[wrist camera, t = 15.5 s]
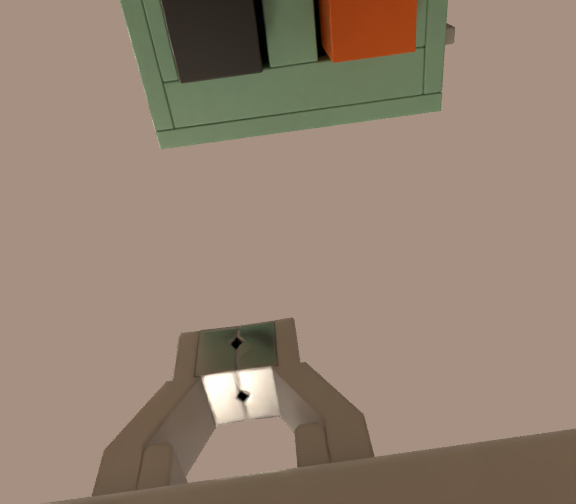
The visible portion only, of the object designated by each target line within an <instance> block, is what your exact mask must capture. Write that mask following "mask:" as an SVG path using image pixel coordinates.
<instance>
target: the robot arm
mask: <svg viewBox="0 0 576 504" xmlns="http://www.w3.org/2000/svg"><path fill="white" fill-rule="evenodd" d="M280 416H281V418H282V419H283V420H284V422H285V423H286V424H287V425H288V427H289V428H290V429H291V430H292V432H293V433H294V434H295V443H296V455H297V467H298V468H292V469H285V470H278V471H270V472H263V473H256V474H249V475H242V476H235V477H228V478H221V479H214V480H206V481H199V482H192V483H188V482H187V479H186V476H187V474H188V472H189V471H190V469H191V467H192V466H193V464H194V462H195V461H196V459H197V458H198V456H199V454H200V452H201V451H202V449H203V448H204V446H205V444H206V443H207V441H208V440H209V438H210V436H211V435H212V433H213V431H214V430H215V428H216V425H221V424H228V423H233V422H239V421H245V420H253V419H261V418H270V417H280ZM42 504H576V429H570V430H563V431H556V432H549V433H542V434H535V435H527V436H520V437H514V438H506V439H499V440H492V441H485V442H478V443H470V444H463V445H456V446H449V447H442V448H435V449H428V450H420V451H413V452H407V453H399V454H392V455H385V456H378V457H374V453H373V449H372V445H371V441H370V437H369V433H368V429H367V425H366V421H365V417H364V414H363V413H362V412H360V411H359V410H358V409H357V408H356V407H355V406H354V405H353V404H352V403H350V402H349V401H348V400H347V399H346V398H345V397H344V396H342V394H340V393H339V392H338V391H337V390H336V389H335V388H334V387H333V386H332V385H330V384H329V383H328V382H327V381H326V380H325V379H324V378H323V377H322V376H321V375H319V374H318V373H317V372H316V371H315V370H314V369H313V368H312V367H311V366H309V365H308V364H307V363H306V362H302V363H300V357H299V350H298V343H297V335H296V328H295V321H294V318H286V319H280V320H275V321H269V322H262V323H255V324H249V325H242V326H234V327H226V328H217V329H208V330H201V331H195V332H186V333H181V334H180V336H179V338H178V345H177V351H176V358H175V365H174V371H173V377H172V381H167V382H165V384H164V385H163V386H162V387H161V388H160V389H159V390H158V391H157V392H156V394H155V395H154V396H153V397H152V398H151V399H150V400H149V401H148V402H147V403H146V405H145V406H144V407H143V408H142V409H141V410H140V411H139V412H138V413H137V415H136V416H135V417H134V418H133V419H132V420H131V421H130V422H129V423H128V424H127V426H126V427H125V428H124V429H123V430H122V431H121V432H120V433H119V434H118V436H116V438H115V439H114V440H113V441H112V442H111V443H110V444H109V445H108V446H107V448H106V449H105V450H104V452H103V456H102V459H101V463H100V467H99V471H98V474H97V478H96V482H95V486H94V489H93V493H92V497H85V498H78V499H71V500H64V501H57V502H50V503H42Z"/></svg>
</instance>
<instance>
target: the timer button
mask: <svg viewBox="0 0 576 504" xmlns="http://www.w3.org/2000/svg"><path fill="white" fill-rule="evenodd" d="M161 5H162V9H163V13H164V17H165V22H166V26H167V30H168V35H169V39H170V43H171V47H172V52H173V56H174V60H175V65H176V69H177V73H178V78H179V82H180V83H190V82H197V81H204V80H212V79H219V78H226V77H234V76H241V75H248V74H256V73H261V72H262V71H263V68H262V61H261V54H260V47H259V39H258V32H257V25H256V17H255V10H254V3H253V0H161Z"/></svg>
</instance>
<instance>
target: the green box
mask: <svg viewBox="0 0 576 504" xmlns="http://www.w3.org/2000/svg"><path fill="white" fill-rule="evenodd" d="M119 1H120V4H121V8H122V11H123V15H124V19H125V22H126V26H127V30H128V33H129V37H130V40H131V44H132V48H133V51H134V55H135V58H136V62H137V66H138V69H139V73H140V77H141V80H142V84H143V87H144V91H145V95H146V98H147V102H148V106H149V109H150V113H151V116H152V120H153V124H154V127H155V130H156V135H157V138H158V142H159V145H160V148H161V149H165V148H173V147H180V146H187V145H195V144H202V143H209V142H217V141H224V140H231V139H238V138H245V137H253V136H261V135H268V134H274V133H283V132H290V131H297V130H304V129H312V128H319V127H326V126H333V125H341V124H347V123H356V122H362V121H370V120H378V119H385V118H392V117H400V116H407V115H413V114H421V113H429V112H436V111H441V99H442V93H441V91H442V82H443V66H444V51H445V45H447V44H453V43H454V34H455V27H453V26H451V25H449V24H447V23H446V20H447V19H446V18H447V5H448V4H447V3H448V0H417V20H416V50H415V52H410V53H403V54H396V55H388V56H381V57H374V58H366V59H359V60H352V61H345V62H337V63H333V62H332V61H331V59H330V58H329V56H328V54H327V53H326V51H325V50H324V48H323V47H322V45H321V31H320V17H319V2H318V0H253V3H254V10H255V17H256V25H257V32H258V39H259V47H260V54H261V61H262V68H263V71H262V72H261V73H256V74H248V75H241V76H234V77H226V78H219V79H212V80H204V81H197V82H190V83H180V82H179V78H178V73H177V69H176V65H175V60H174V56H173V52H172V47H171V43H170V39H169V35H168V30H167V26H166V22H165V17H164V13H163V9H162V5H161V0H119Z"/></svg>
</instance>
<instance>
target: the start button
mask: <svg viewBox="0 0 576 504" xmlns="http://www.w3.org/2000/svg"><path fill="white" fill-rule="evenodd" d="M318 2H319V17H320V31H321V45H322V47H323V48H324V50H325V51H326V53H327V54H328V56H329V58H330V59H331V61H332V62H333V63H337V62H345V61H352V60H359V59H366V58H374V57H381V56H388V55H396V54H403V53H410V52H415V50H416V20H417V0H318Z"/></svg>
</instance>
